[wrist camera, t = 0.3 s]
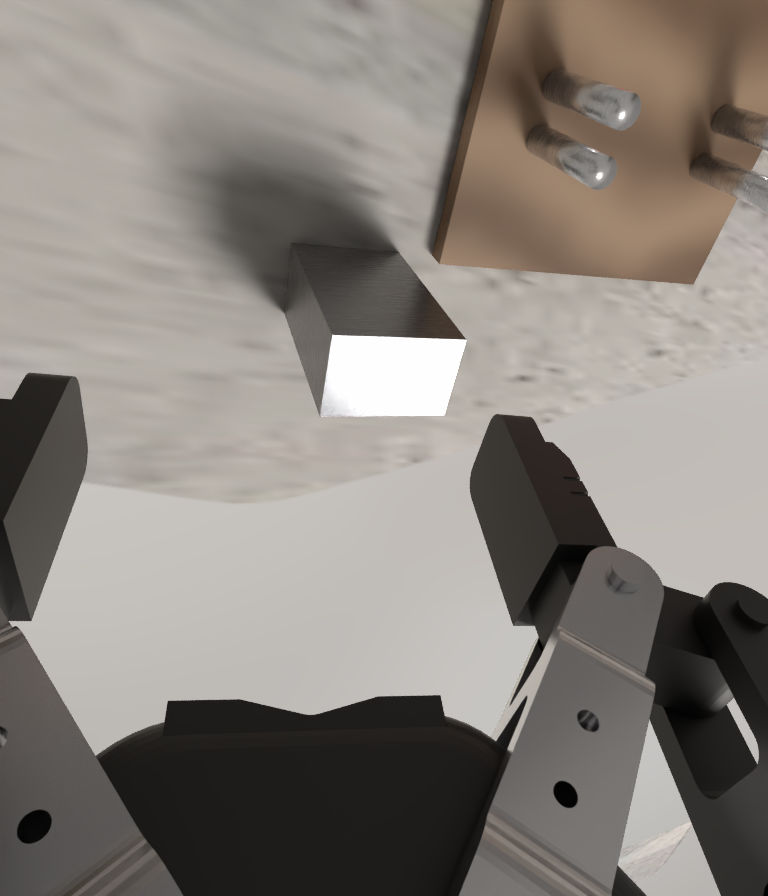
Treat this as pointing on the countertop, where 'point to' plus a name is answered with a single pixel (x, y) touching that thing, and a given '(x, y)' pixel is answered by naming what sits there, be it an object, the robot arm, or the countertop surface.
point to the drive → (369, 333)
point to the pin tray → (609, 137)
